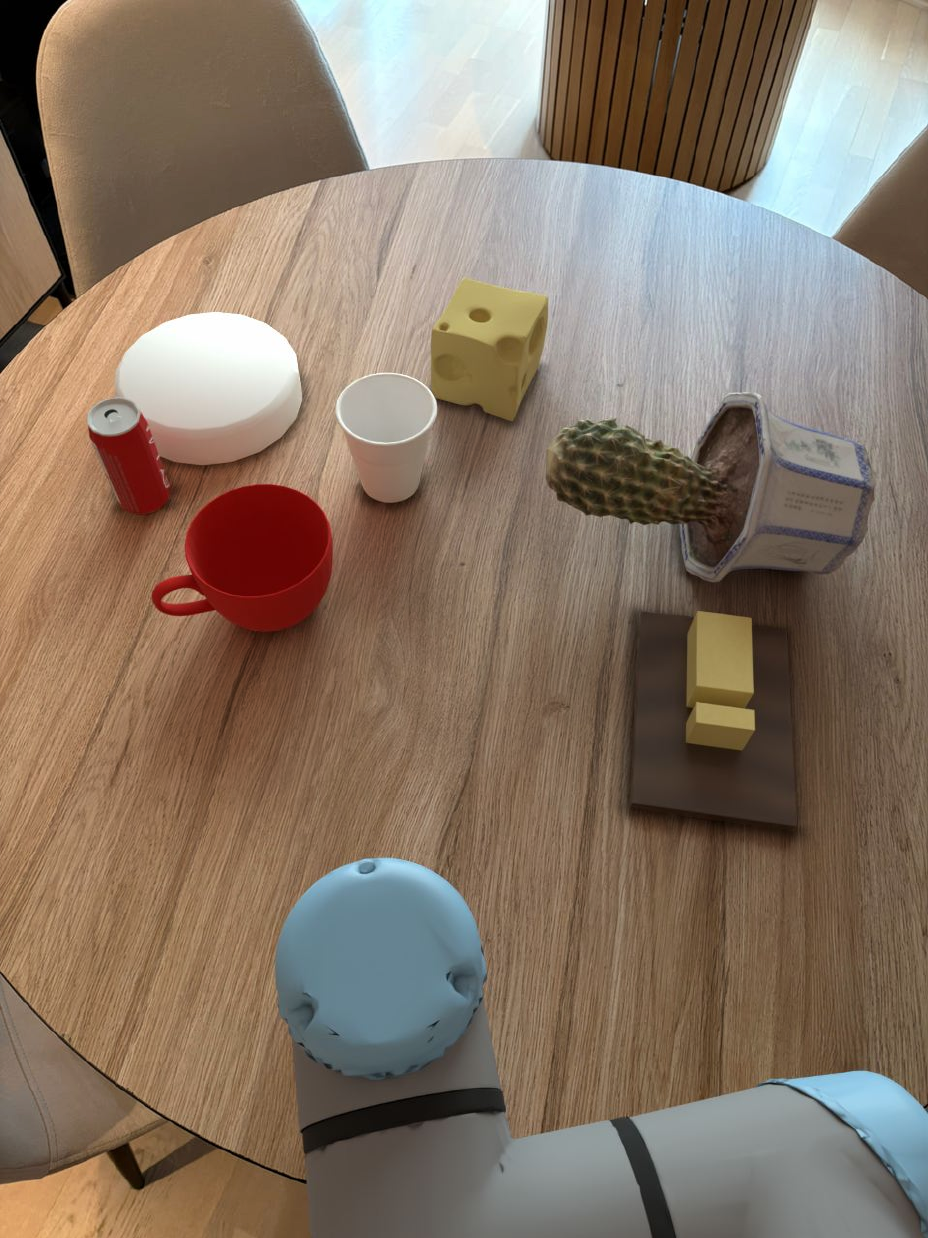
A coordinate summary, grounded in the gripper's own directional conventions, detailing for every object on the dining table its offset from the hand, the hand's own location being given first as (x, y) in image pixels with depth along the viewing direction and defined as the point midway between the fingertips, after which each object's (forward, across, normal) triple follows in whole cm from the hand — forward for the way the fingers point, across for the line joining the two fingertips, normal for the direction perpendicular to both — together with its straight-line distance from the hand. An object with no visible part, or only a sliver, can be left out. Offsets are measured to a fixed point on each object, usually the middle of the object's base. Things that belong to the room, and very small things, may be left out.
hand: (406, 1092), depth 65 cm
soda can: (+5, -52, -37) cm, 64 cm away
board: (+5, -35, +22) cm, 42 cm away
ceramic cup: (+5, -40, -22) cm, 46 cm away
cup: (+5, -58, -12) cm, 59 cm away
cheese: (+5, -75, -4) cm, 75 cm away
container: (+5, -67, -34) cm, 75 cm away
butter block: (+3, -39, +22) cm, 45 cm away
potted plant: (+5, -55, +19) cm, 58 cm away
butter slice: (+3, -32, +22) cm, 39 cm away
